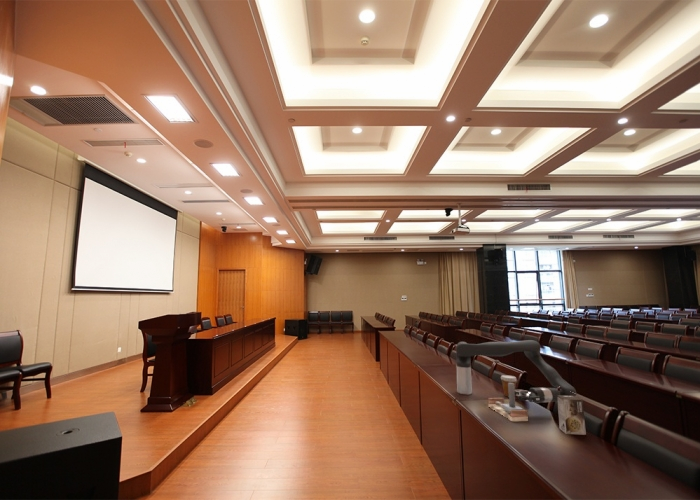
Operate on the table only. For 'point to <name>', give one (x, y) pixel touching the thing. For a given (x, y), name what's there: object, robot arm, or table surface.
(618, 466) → the table surface
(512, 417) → the rail bed
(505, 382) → the disposable coffee cup
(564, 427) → the coffee box
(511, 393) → the carriage
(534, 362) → the robot arm
